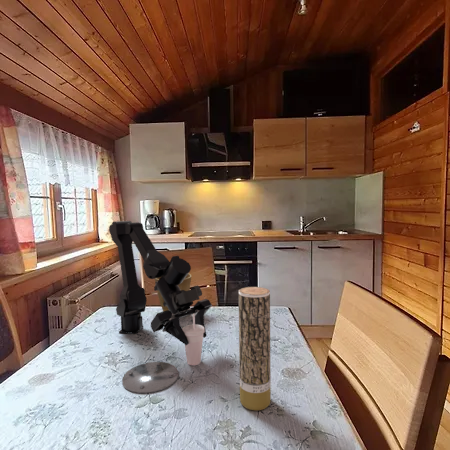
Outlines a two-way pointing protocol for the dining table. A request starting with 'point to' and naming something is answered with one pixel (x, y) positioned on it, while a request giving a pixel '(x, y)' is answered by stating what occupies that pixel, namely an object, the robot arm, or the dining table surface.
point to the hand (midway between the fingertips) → (196, 340)
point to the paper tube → (254, 347)
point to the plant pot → (183, 286)
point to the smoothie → (194, 342)
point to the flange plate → (150, 377)
